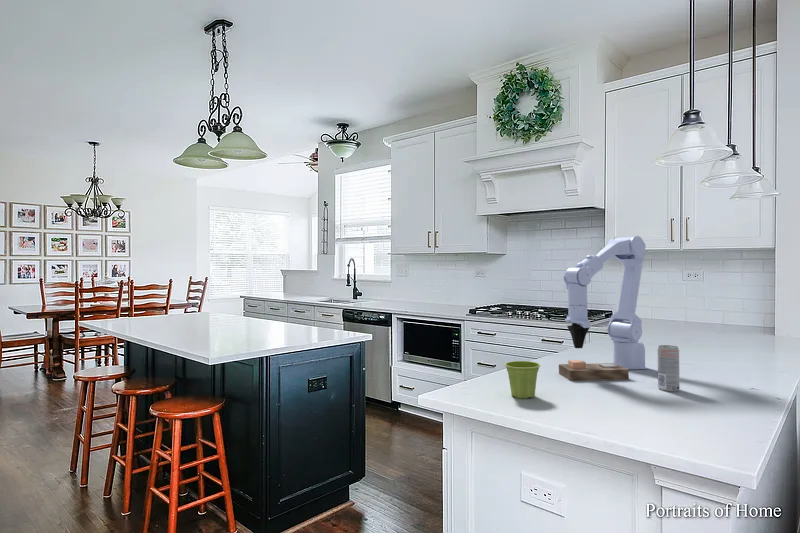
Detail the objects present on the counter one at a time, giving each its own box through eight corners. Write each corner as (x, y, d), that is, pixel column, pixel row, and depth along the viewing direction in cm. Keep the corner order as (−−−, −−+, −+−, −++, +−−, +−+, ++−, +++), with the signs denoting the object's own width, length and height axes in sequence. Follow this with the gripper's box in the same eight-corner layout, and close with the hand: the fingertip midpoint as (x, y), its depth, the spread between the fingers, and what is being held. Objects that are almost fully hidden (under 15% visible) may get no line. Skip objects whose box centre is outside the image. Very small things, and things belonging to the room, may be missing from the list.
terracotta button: (580, 369, 164) (580, 359, 164) (585, 372, 160) (585, 362, 160) (568, 369, 164) (568, 360, 164) (573, 372, 160) (572, 362, 160)
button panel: (613, 372, 168) (613, 363, 168) (628, 379, 158) (628, 369, 158) (558, 373, 167) (558, 364, 167) (570, 380, 157) (570, 370, 157)
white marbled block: (611, 372, 164) (611, 363, 164) (617, 375, 160) (617, 366, 160) (599, 373, 164) (599, 363, 164) (604, 376, 160) (604, 366, 160)
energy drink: (674, 387, 147) (674, 345, 147) (682, 391, 142) (682, 348, 142) (654, 387, 148) (654, 345, 148) (662, 391, 142) (662, 348, 142)
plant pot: (502, 399, 137) (502, 366, 137) (507, 390, 146) (507, 359, 146) (539, 401, 134) (538, 368, 134) (542, 393, 143) (541, 361, 143)
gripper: (557, 303, 171) (558, 344, 172) (574, 307, 157) (574, 352, 157) (578, 303, 172) (578, 343, 172) (596, 306, 157) (597, 351, 157)
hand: (578, 347), depth 165 cm, fingers closed
